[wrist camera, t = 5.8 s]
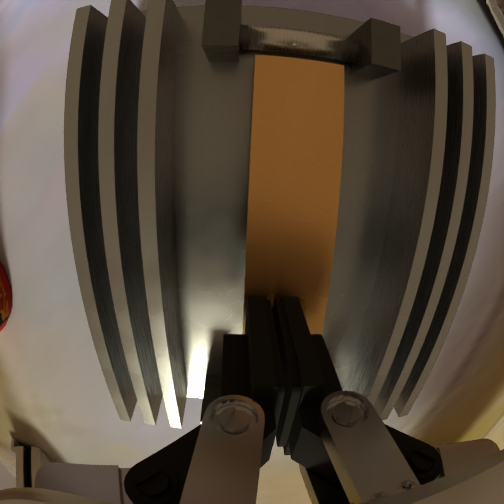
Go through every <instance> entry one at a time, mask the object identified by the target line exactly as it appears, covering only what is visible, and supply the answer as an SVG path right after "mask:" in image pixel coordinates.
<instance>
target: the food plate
mask: <svg viewBox="0 0 504 504" xmlns="http://www.w3.org/2000/svg"><path fill="white" fill-rule="evenodd" d="M486 3H487V5H488V7H489V8H490V9H489V10H491V13H492V15H493V17H494V19H495V21H496V23H497V25H498V27H499V30H500V31H501V33H502V35H503V37H504V0H486Z"/></svg>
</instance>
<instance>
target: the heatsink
mask: <svg viewBox="0 0 504 504" xmlns="http://www.w3.org/2000/svg"><path fill="white" fill-rule="evenodd" d="M255 55H268V56H280V57H290V58H299V59H307V60H314V61H321V62H327V63H333V64H339V65H344V127H343V150H342V168H341V183H340V196H339V207H338V218H337V228H336V238H335V247H334V255H333V263H332V271H331V279H330V286H329V293H328V300H327V306H326V313H325V319H324V325H323V331H322V336H323V338H324V341H325V344H326V346H327V349H328V352H329V354H330V357H331V360H332V363H333V365H334V368H335V371H336V374H337V376H338V379H339V382H340V385H341V388H342V390H347V391H354V392H356V393H359V394H361V395H363V396H364V397H366V398H367V399H368V400H369V401H370V402H371V404H372V405H373V407H374V408H375V410H376V412H377V413H378V415H379V417H380V418H381V420H385V419H387V418H388V416H389V414H390V412H391V411H392V409H393V407H394V408H395V410H396V412H397V414H398V416H399V417H401V416H405V415H407V414H408V412H409V411H410V409H411V407H412V406H413V404H414V402H415V400H416V398H417V397H418V395H419V393H420V391H421V389H422V387H423V385H424V384H425V382H426V380H427V378H428V376H429V374H430V372H431V370H432V368H433V365H434V363H435V361H436V359H437V357H438V355H439V353H440V350H441V348H442V346H443V344H444V341H445V339H446V337H447V334H448V332H449V329H450V327H451V324H452V322H453V319H454V317H455V314H456V311H457V309H458V306H459V303H460V300H461V297H462V295H463V292H464V289H465V286H466V282H467V279H468V276H469V273H470V269H471V266H472V262H473V259H474V255H475V252H476V248H477V244H478V240H479V236H480V231H481V227H482V222H483V217H484V212H485V207H486V202H487V196H488V190H489V183H490V176H491V168H492V159H493V149H494V135H495V110H496V93H495V68H494V59H493V58H492V57H490V56H488V55H486V54H480V55H475V56H472V46H470V45H468V44H466V43H464V42H462V41H460V42H457V43H453V44H450V45H447V46H446V35H445V33H442V32H440V31H438V30H435V29H431V30H429V31H427V32H424V33H422V34H420V35H418V36H415V37H410V36H407V35H404V34H401V33H400V26H397V25H394V24H390V23H387V22H384V21H380V20H377V19H373V18H370V19H369V20H368V21H366V22H365V23H363V22H359V21H355V20H351V19H346V18H341V17H336V16H331V15H326V14H320V13H314V12H307V11H300V10H292V9H283V8H273V7H259V6H242V0H206V3H205V6H189V7H176V6H175V4H174V2H173V0H149V3H148V9H147V11H140V10H139V9H138V8H137V7H136V6H135V5H134V4H133V3H132V1H131V0H111V5H110V10H109V16H108V18H107V17H106V16H105V15H104V14H102V13H101V12H100V11H98V10H97V9H96V8H94V7H93V6H92V5H89V6H85V7H81V8H78V9H77V11H76V16H75V21H74V26H73V32H72V38H71V45H70V52H69V60H68V69H67V79H66V93H65V112H64V161H65V181H66V195H67V206H68V216H69V224H70V232H71V239H72V246H73V253H74V259H75V264H76V270H77V275H78V280H79V285H80V290H81V295H82V299H83V304H84V308H85V312H86V316H87V320H88V324H89V328H90V331H91V335H92V339H93V342H94V345H95V349H96V352H97V355H98V359H99V362H100V365H101V368H102V371H103V374H104V377H105V380H106V383H107V386H108V388H109V391H110V394H111V397H112V399H113V402H114V404H115V407H116V409H117V412H118V414H119V417H120V419H121V420H126V421H131V418H132V415H133V412H134V409H135V405H136V402H137V401H138V404H139V407H140V410H141V413H142V416H143V419H144V422H145V424H151V425H156V421H157V416H158V412H159V408H160V404H161V400H162V396H163V397H164V401H165V406H166V410H167V414H168V419H169V423H170V427H176V428H182V422H183V416H184V410H185V404H186V398H187V397H193V398H203V402H202V411H201V420H200V423H201V424H202V420H203V417H204V413H205V411H206V409H207V407H208V405H209V404H210V403H211V402H212V401H214V400H215V399H217V398H219V397H221V378H222V353H223V334H242V329H243V303H244V277H245V252H246V229H247V205H248V183H249V161H250V139H251V118H252V98H253V78H254V61H255Z"/></svg>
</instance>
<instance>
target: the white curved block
mask: <svg viewBox="0 0 504 504" xmlns="http://www.w3.org/2000/svg"><path fill="white" fill-rule="evenodd" d="M11 450H12V451H13V452H14V453H15V454H16V487H17V488H25V487H30V488H34V485H35V477H36V473H37V471H38V470H39V469H40V467H41V466H42V465H45V464H47V463H50V462H51V461H50V460H49V459H48V458H47V456H46V455H45V454H44V453H43V452H42V451H41V449H40V448H38V447H33V446H31V449H29V451H28V450H27V449H25V448H24V447H23V446H20V445H19V444H18V442H17V441H16V440H15V439H14V438H12V442H11Z"/></svg>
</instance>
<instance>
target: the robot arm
mask: <svg viewBox="0 0 504 504" xmlns="http://www.w3.org/2000/svg"><path fill="white" fill-rule="evenodd" d="M275 435H276V441H277V446H278V447H282V446H283V448H284V455H291V459H292V460H294V461H296V462H297V463H299V468H300V472H301V475H302V477H303V480H304V483H305V486H306V488H307V491H308V494H309V497H310V499H311V502H312V504H504V449H503V450H501V451H500V450H499V448H498V446H497V444H496V443H494V442H493V441H492V440H489V439H478V440H472V441H465V442H458V443H450V444H441V445H438V446H437V447H436V448H434V447H432V446H430V445H429V444H427V443H425V442H422V441H420V440H418V439H415V438H413V437H411V436H409V435H407V434H404V433H402V432H400V431H398V430H396V429H394V428H392V427H390V426H388V425H385V424H384V423H383V421H382V420H381V418H380V417H379V415H378V413H377V412H376V410H375V408H374V407H373V405H372V404H371V402H370V401H369V400H368V399H367V398H366V397H364V396H363V395H361V394H359V393H356V392H354V391H347V390H342V388H341V385H340V382H339V379H338V376H337V374H336V371H335V368H334V365H333V363H332V360H331V357H330V354H329V352H328V349H327V346H326V344H325V341H324V338H323V336H322V335H321V334H310V331H309V328H308V325H307V322H306V319H305V316H304V313H303V310H302V307H301V304H300V301H299V298H298V296H281V298H280V300H275V301H274V308H273V312H272V307H271V301H270V300H265V299H264V296H251V295H247V304H246V321H245V334H223V353H222V378H221V397H219V398H217V399H215V400H214V401H212V402H211V403H210V404H209V405H208V407H207V409H206V411H205V413H204V417H203V420H202V424H201V425H199V426H198V427H196V428H194V429H193V430H191V431H190V432H188V433H187V434H185V435H184V436H182V437H181V438H179V439H177V440H176V441H174V442H173V443H171V444H169V445H168V446H166V447H164V448H163V449H161V450H159V451H158V452H156V453H154V454H153V455H151V456H149V457H148V458H146V459H144V460H142V461H141V462H139V463H137V464H136V465H134V466H133V467H132V468H119V466H118V465H87V464H71V463H60V462H50V463H47V464H45V465H42V466H41V467H40V469H39V470H38V471H37V473H36V477H35V485H34V488H30V487H25V488H9V489H4V490H0V504H256V497H257V489H258V480H259V471H260V468H261V467H262V466H263V465H264V464H265V463H266V462H267V461H268V460H269V459H270V454H271V450H272V447H273V444H274V440H275Z"/></svg>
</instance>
